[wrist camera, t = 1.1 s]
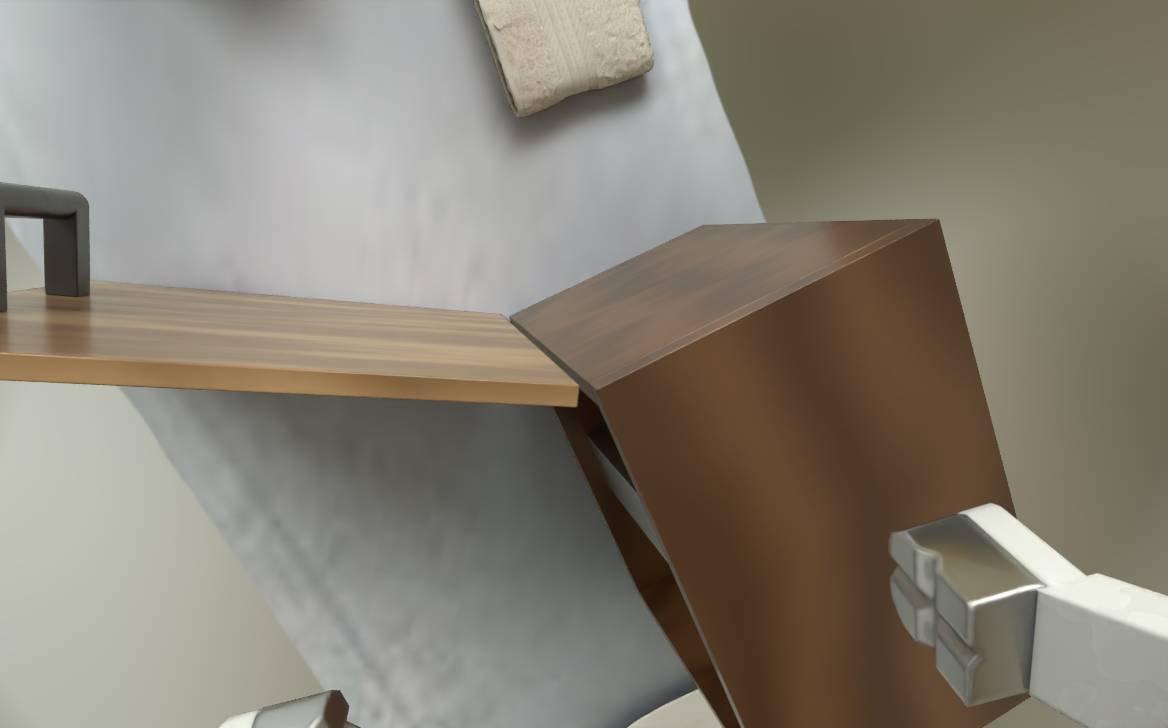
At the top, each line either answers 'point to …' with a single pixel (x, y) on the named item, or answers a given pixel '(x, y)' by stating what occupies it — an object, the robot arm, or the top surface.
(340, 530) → the top surface
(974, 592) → the robot arm
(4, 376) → the cupboard door
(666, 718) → the plate
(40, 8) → the top surface
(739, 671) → the cupboard
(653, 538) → the grey box with handle
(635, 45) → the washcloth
